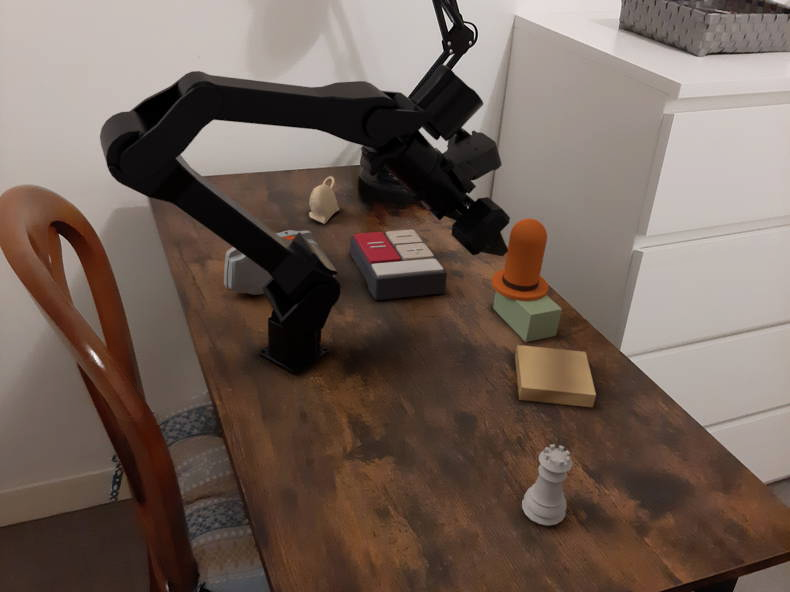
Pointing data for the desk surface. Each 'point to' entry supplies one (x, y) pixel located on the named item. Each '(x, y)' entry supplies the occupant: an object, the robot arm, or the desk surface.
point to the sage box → (529, 316)
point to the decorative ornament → (323, 202)
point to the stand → (554, 376)
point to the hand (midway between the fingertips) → (486, 237)
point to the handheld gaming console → (252, 268)
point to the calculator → (397, 264)
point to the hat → (523, 263)
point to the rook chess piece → (548, 488)
